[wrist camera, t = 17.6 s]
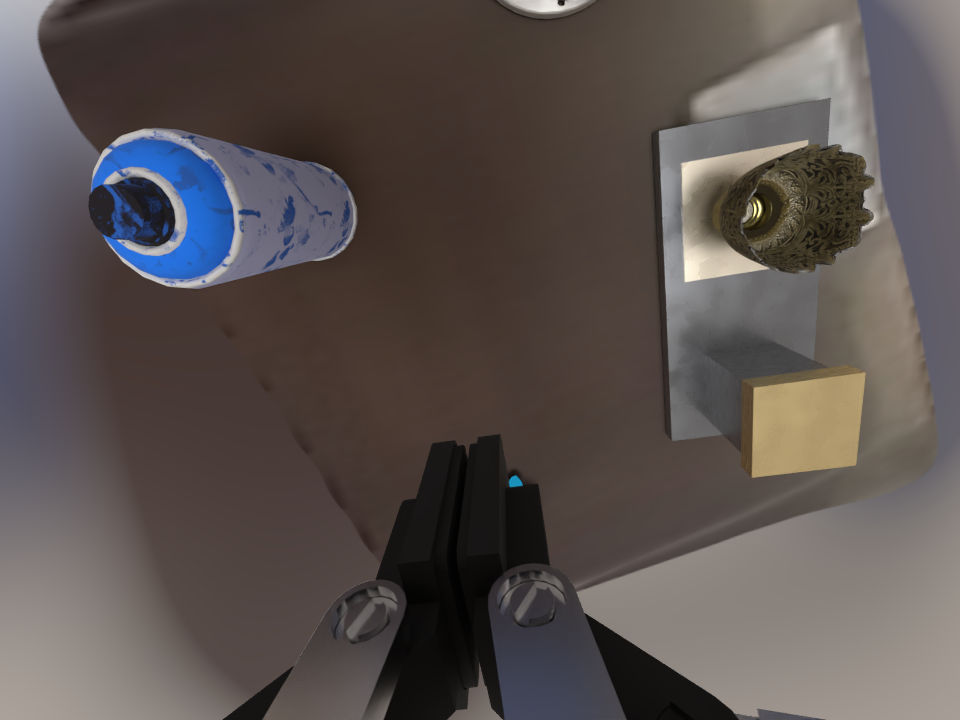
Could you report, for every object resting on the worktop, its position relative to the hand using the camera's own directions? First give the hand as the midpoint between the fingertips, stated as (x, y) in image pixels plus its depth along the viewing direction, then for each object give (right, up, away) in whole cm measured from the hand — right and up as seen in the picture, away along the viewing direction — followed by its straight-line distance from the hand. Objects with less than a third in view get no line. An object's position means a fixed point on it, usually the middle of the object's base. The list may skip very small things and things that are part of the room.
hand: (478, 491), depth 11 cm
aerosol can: (-14, +16, +26) cm, 34 cm away
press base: (+21, +9, +27) cm, 35 cm away
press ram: (+23, +1, +27) cm, 35 cm away
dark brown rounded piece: (+20, +15, +23) cm, 34 cm away
